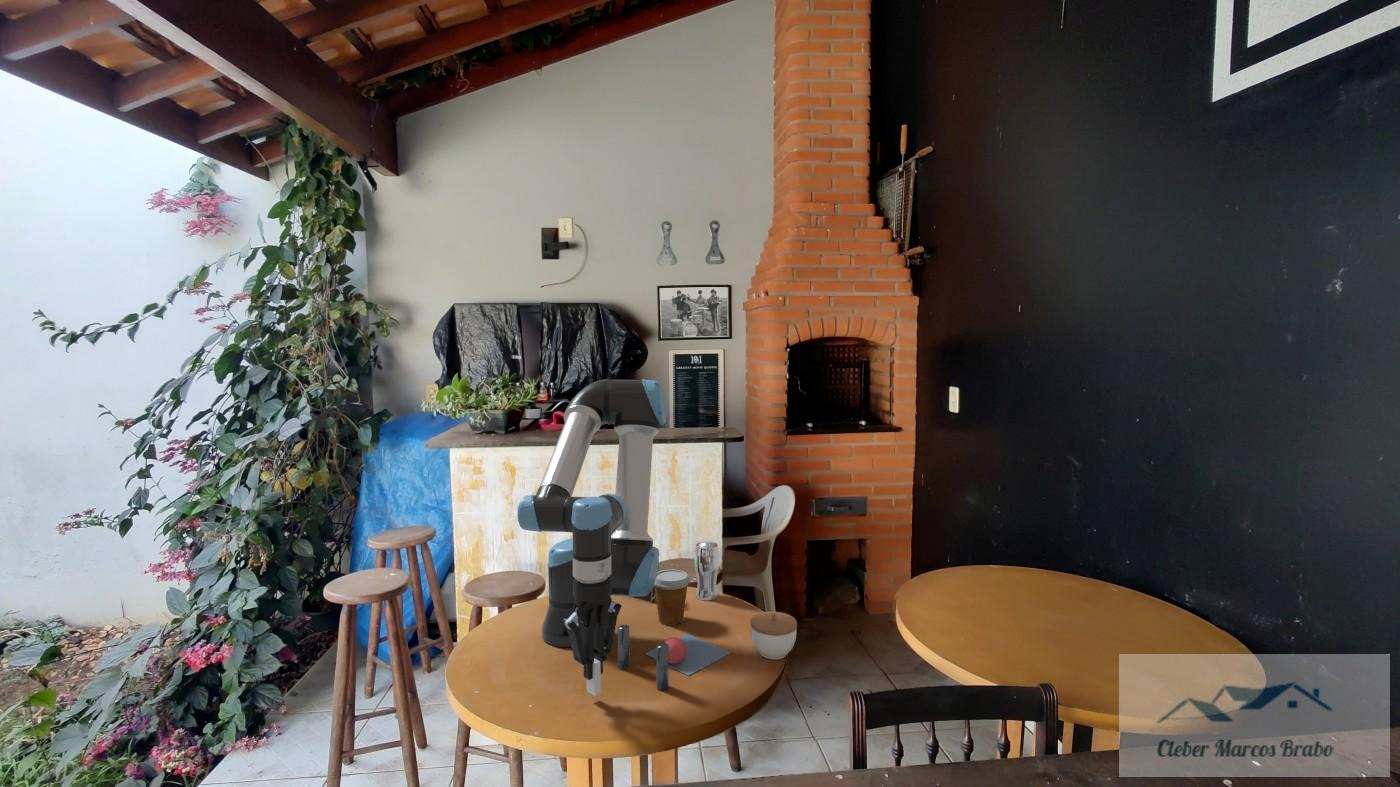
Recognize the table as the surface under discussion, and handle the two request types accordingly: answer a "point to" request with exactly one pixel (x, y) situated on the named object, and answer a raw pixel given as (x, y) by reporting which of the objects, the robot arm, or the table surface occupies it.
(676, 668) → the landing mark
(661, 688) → the post
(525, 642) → the table surface
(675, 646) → the ball
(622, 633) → the post
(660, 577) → the disposable coffee cup
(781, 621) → the lidded jar
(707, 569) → the beer glass
